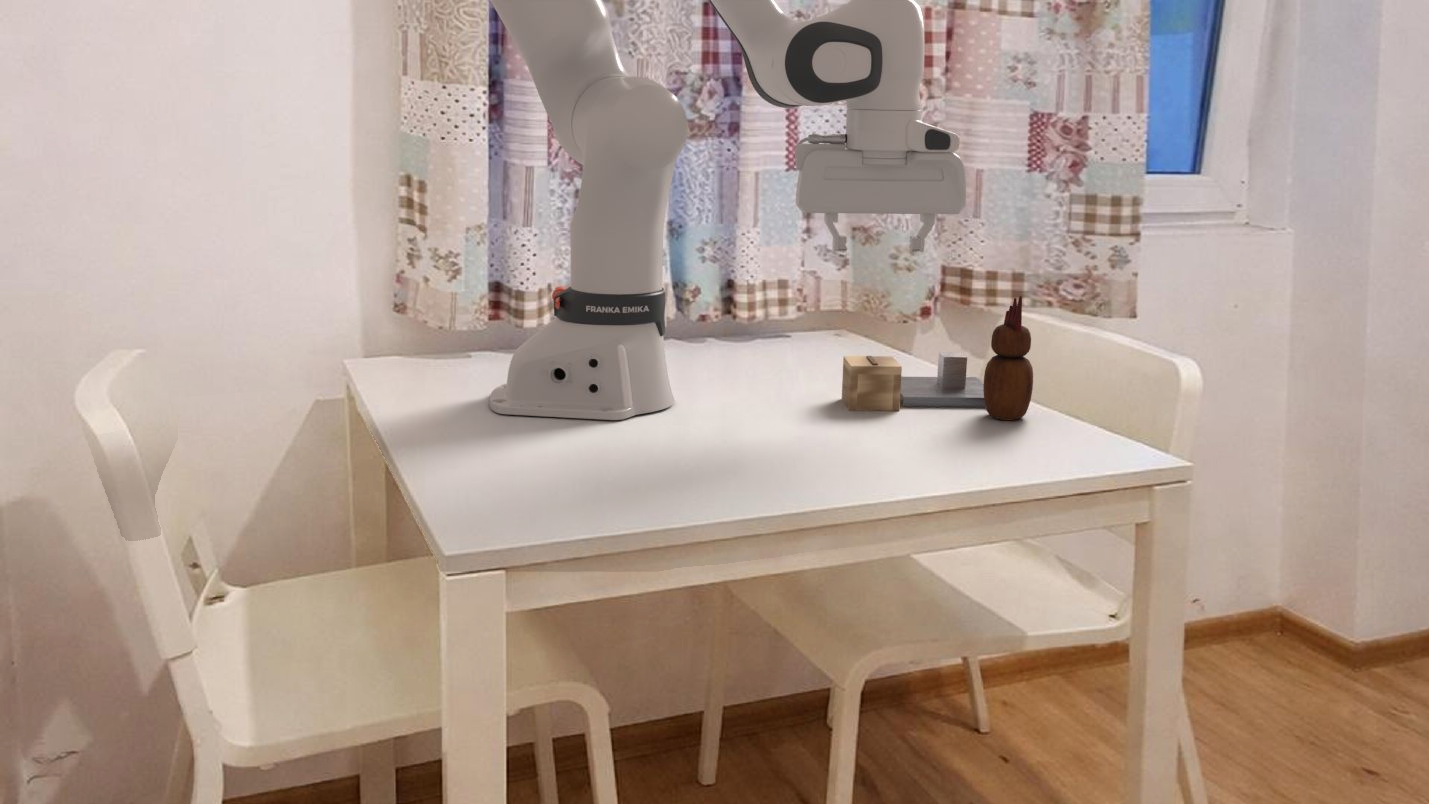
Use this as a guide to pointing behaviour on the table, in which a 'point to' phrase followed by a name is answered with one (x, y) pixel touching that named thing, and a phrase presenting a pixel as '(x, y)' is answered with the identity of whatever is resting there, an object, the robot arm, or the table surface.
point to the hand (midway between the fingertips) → (877, 251)
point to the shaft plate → (944, 386)
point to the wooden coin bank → (871, 383)
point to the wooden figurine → (1009, 368)
